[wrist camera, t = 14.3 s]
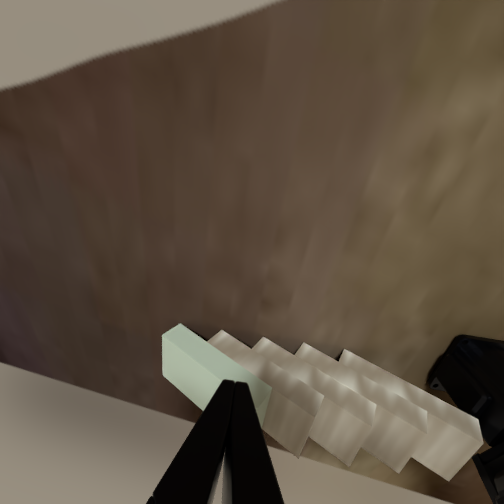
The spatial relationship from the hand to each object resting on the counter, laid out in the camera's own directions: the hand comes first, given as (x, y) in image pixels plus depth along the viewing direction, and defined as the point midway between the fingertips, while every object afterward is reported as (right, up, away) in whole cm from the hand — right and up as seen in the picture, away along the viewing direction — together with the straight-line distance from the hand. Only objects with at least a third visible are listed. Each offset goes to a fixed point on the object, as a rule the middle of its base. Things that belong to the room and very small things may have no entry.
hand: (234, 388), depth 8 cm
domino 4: (+4, -6, +15) cm, 17 cm away
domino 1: (-7, -5, +15) cm, 17 cm away
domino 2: (-3, -5, +15) cm, 16 cm away
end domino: (+8, -7, +15) cm, 18 cm away
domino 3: (+1, -6, +15) cm, 16 cm away
